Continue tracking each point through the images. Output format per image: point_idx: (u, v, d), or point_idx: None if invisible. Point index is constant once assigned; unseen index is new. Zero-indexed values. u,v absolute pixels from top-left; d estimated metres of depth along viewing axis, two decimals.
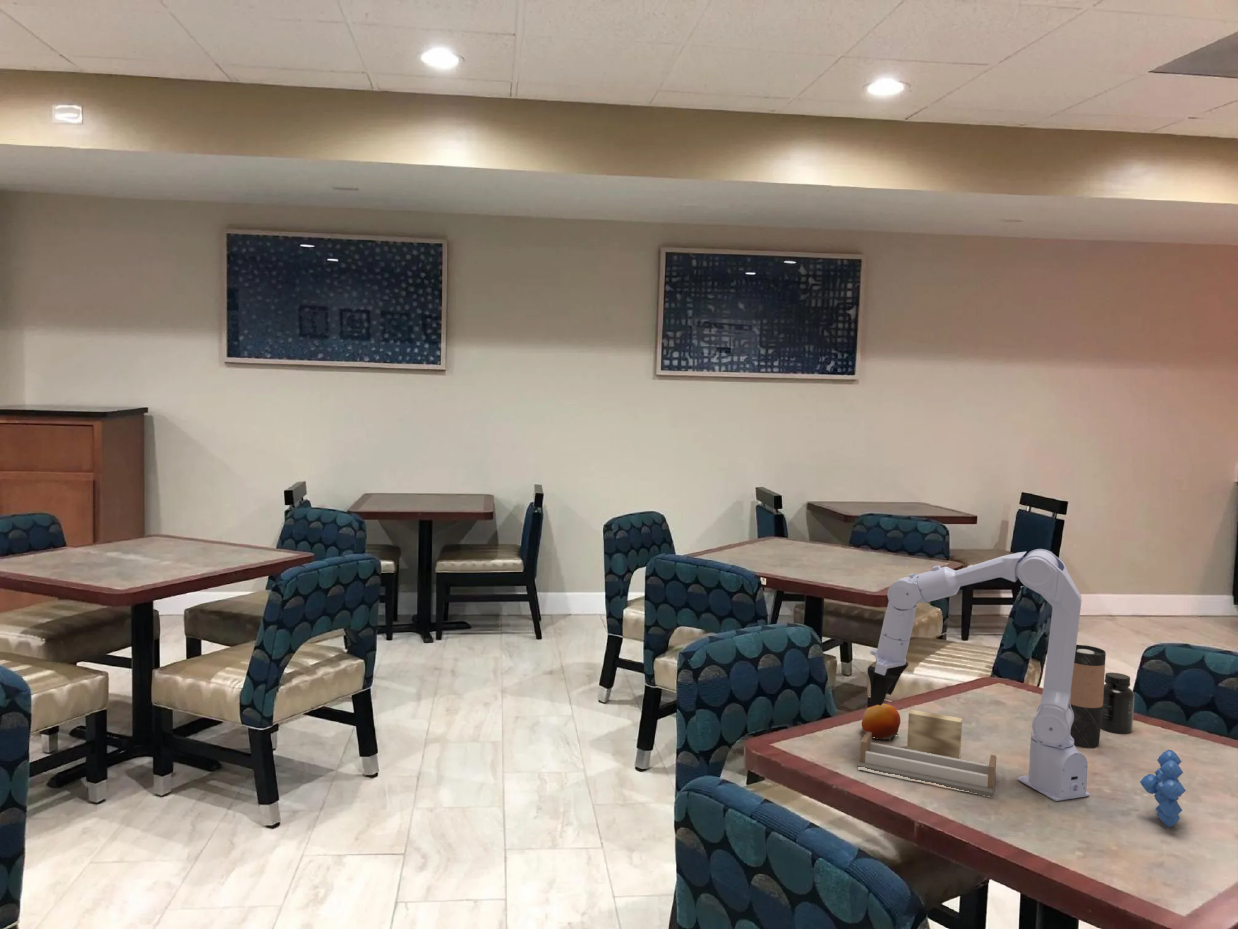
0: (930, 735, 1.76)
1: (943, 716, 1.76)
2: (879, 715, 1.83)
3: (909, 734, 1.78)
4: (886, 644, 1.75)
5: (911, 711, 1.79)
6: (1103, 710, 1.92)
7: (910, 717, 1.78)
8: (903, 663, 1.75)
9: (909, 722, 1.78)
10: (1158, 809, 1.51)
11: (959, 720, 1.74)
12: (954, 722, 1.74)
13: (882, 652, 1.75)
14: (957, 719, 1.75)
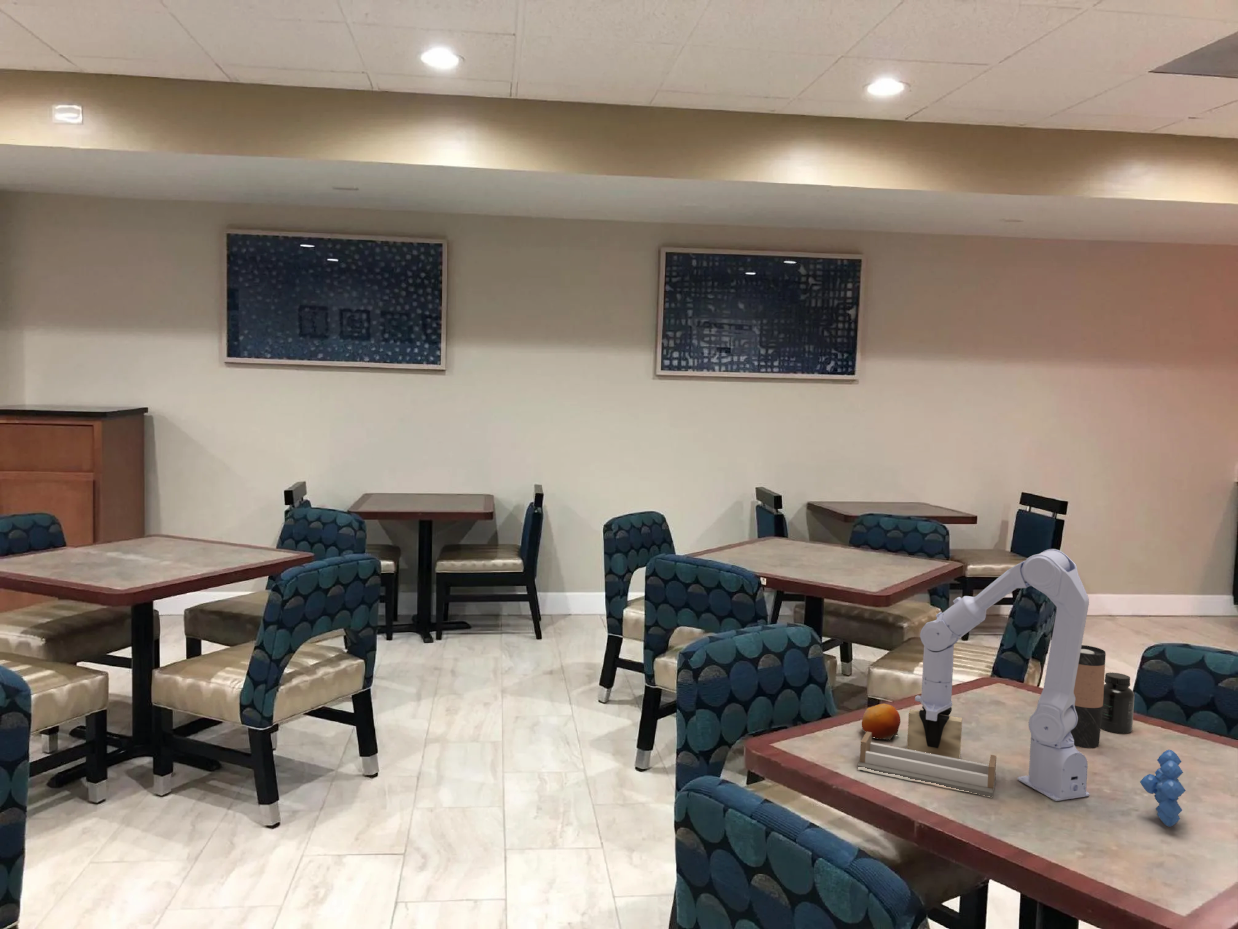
0: None
1: None
2: (879, 715, 1.83)
3: (909, 734, 1.78)
4: (931, 688, 1.74)
5: (911, 711, 1.79)
6: (1103, 710, 1.92)
7: (910, 717, 1.78)
8: (950, 705, 1.74)
9: (909, 722, 1.78)
10: (1158, 809, 1.51)
11: (959, 720, 1.74)
12: (954, 722, 1.74)
13: (928, 697, 1.74)
14: (957, 719, 1.75)
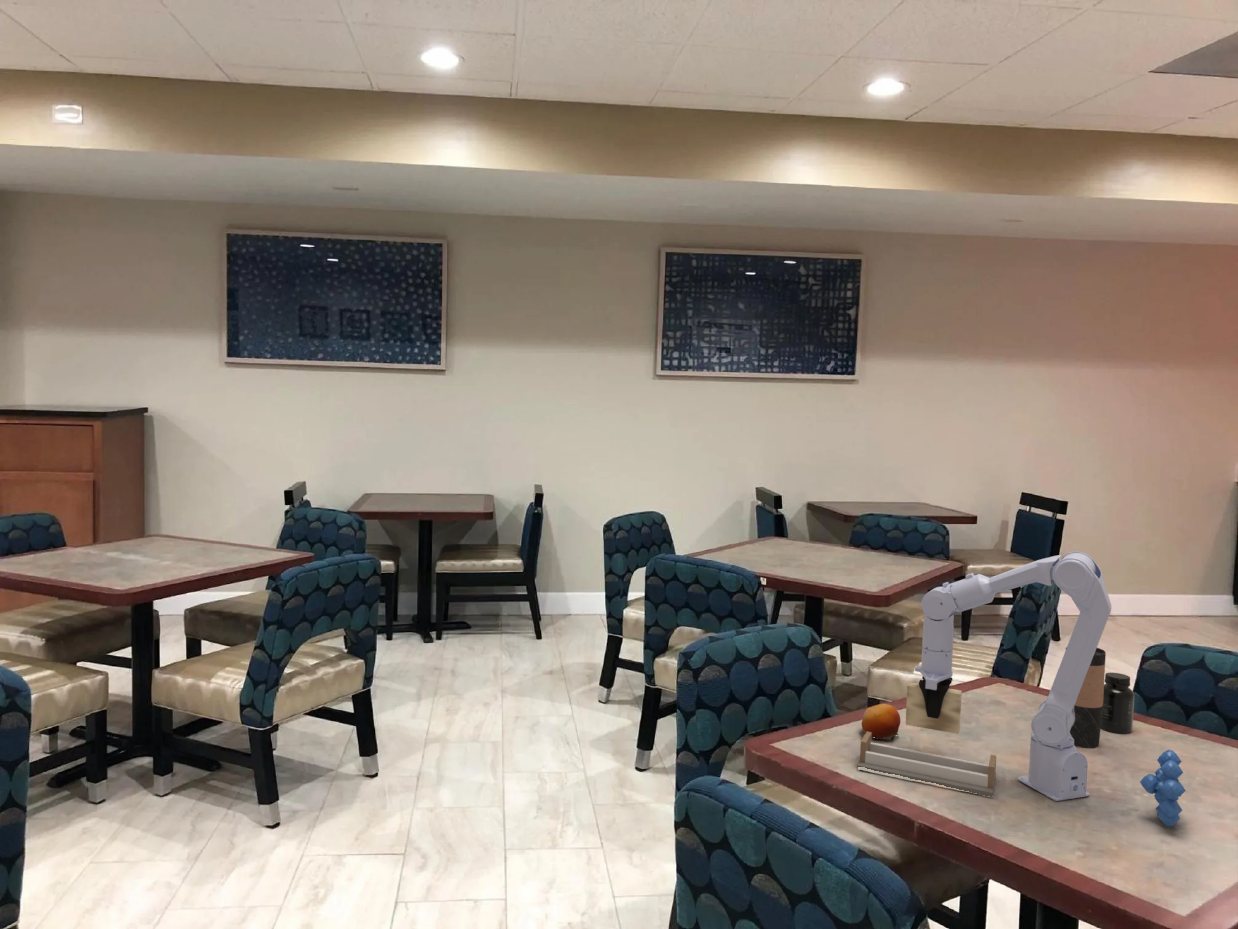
0: None
1: None
2: (879, 715, 1.83)
3: (908, 707, 1.75)
4: (931, 658, 1.71)
5: (910, 684, 1.76)
6: (1103, 710, 1.92)
7: (908, 690, 1.75)
8: (950, 675, 1.71)
9: (908, 695, 1.75)
10: (1158, 809, 1.51)
11: (958, 692, 1.71)
12: (953, 694, 1.71)
13: (928, 667, 1.72)
14: (956, 691, 1.72)
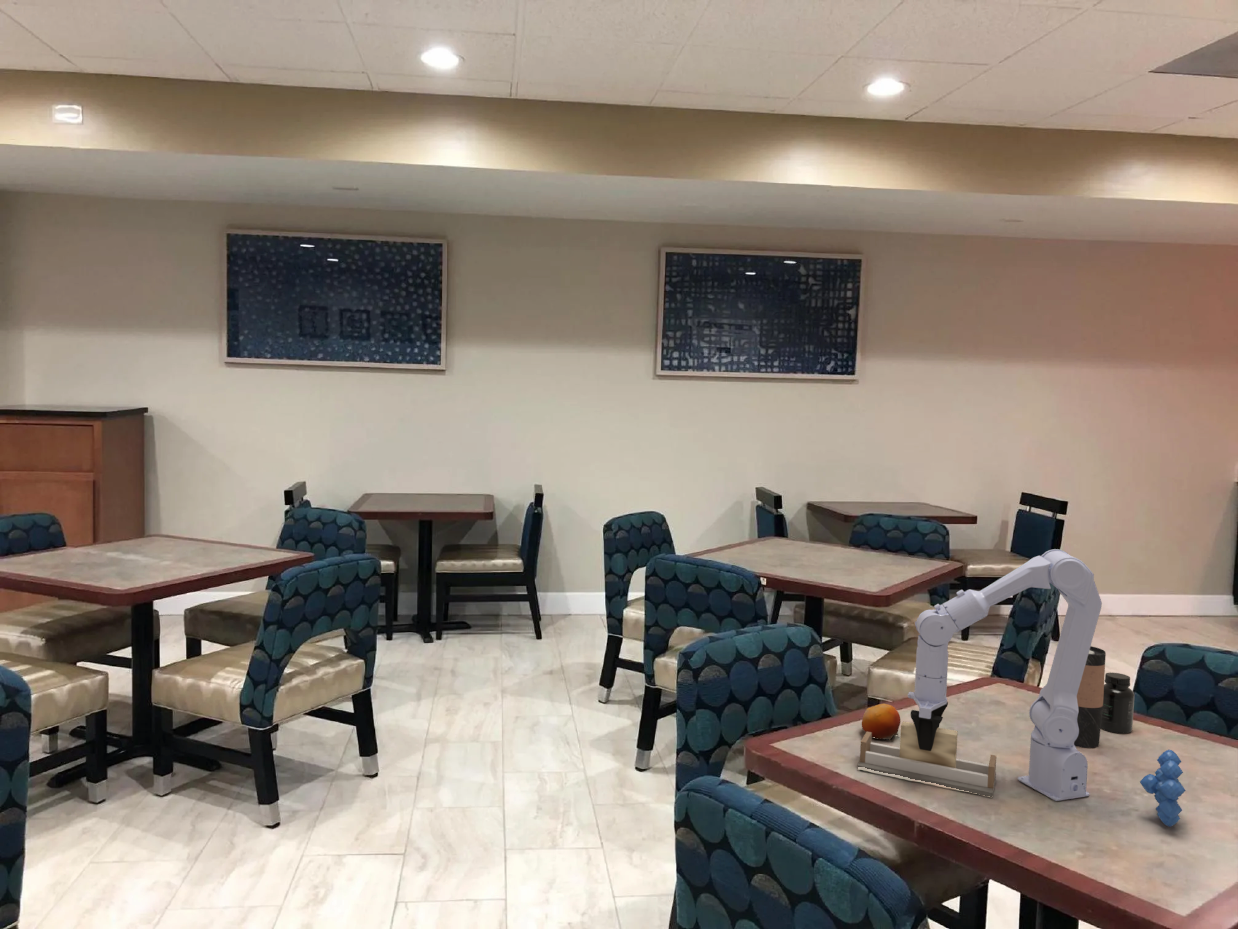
0: None
1: (937, 728, 1.66)
2: (879, 715, 1.83)
3: (902, 748, 1.68)
4: (924, 684, 1.64)
5: (903, 723, 1.69)
6: (1103, 710, 1.92)
7: (902, 729, 1.68)
8: (945, 702, 1.64)
9: (901, 735, 1.68)
10: (1158, 809, 1.51)
11: (954, 733, 1.64)
12: (949, 735, 1.64)
13: (921, 694, 1.64)
14: (952, 732, 1.65)
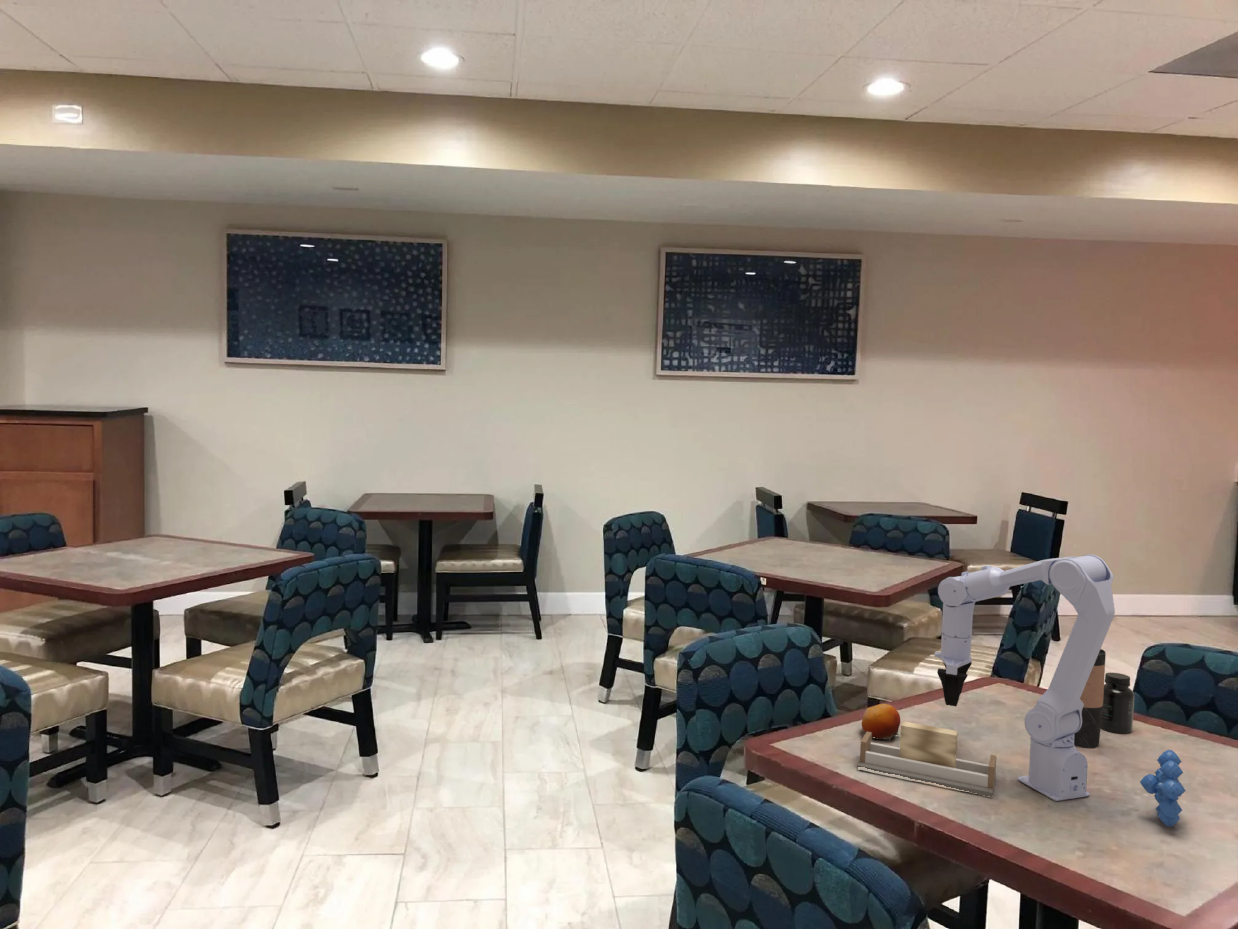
0: (923, 748, 1.66)
1: (937, 728, 1.66)
2: (879, 715, 1.83)
3: (902, 748, 1.68)
4: (950, 644, 1.76)
5: (903, 723, 1.69)
6: (1103, 710, 1.92)
7: (902, 729, 1.68)
8: (970, 660, 1.76)
9: (901, 735, 1.68)
10: (1158, 809, 1.51)
11: (954, 733, 1.64)
12: (949, 735, 1.64)
13: (948, 653, 1.77)
14: (952, 732, 1.65)
